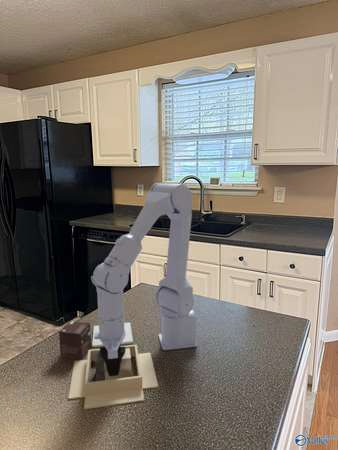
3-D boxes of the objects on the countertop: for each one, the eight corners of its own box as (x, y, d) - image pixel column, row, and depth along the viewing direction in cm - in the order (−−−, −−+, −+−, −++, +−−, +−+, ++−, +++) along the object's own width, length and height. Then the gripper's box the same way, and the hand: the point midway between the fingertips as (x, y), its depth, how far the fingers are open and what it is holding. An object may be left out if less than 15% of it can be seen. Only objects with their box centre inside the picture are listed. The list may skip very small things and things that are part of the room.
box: (81, 360, 80) (79, 334, 79) (60, 358, 81) (58, 331, 80) (92, 347, 86) (90, 322, 85) (71, 345, 87) (70, 320, 86)
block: (130, 366, 78) (129, 348, 77) (131, 377, 74) (130, 357, 73) (96, 370, 76) (95, 352, 75) (96, 381, 72) (95, 362, 71)
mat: (130, 324, 99) (130, 322, 99) (132, 343, 88) (132, 341, 88) (94, 327, 97) (93, 325, 96) (92, 347, 86) (92, 345, 86)
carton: (148, 346, 86) (148, 336, 86) (160, 398, 67) (160, 385, 66) (75, 354, 83) (75, 343, 82) (66, 411, 63) (65, 398, 63)
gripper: (94, 303, 78) (97, 353, 81) (91, 332, 64) (95, 392, 67) (123, 300, 80) (124, 350, 82) (126, 329, 66) (128, 387, 68)
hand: (113, 368), depth 75 cm, fingers closed on block, 4 cm apart
